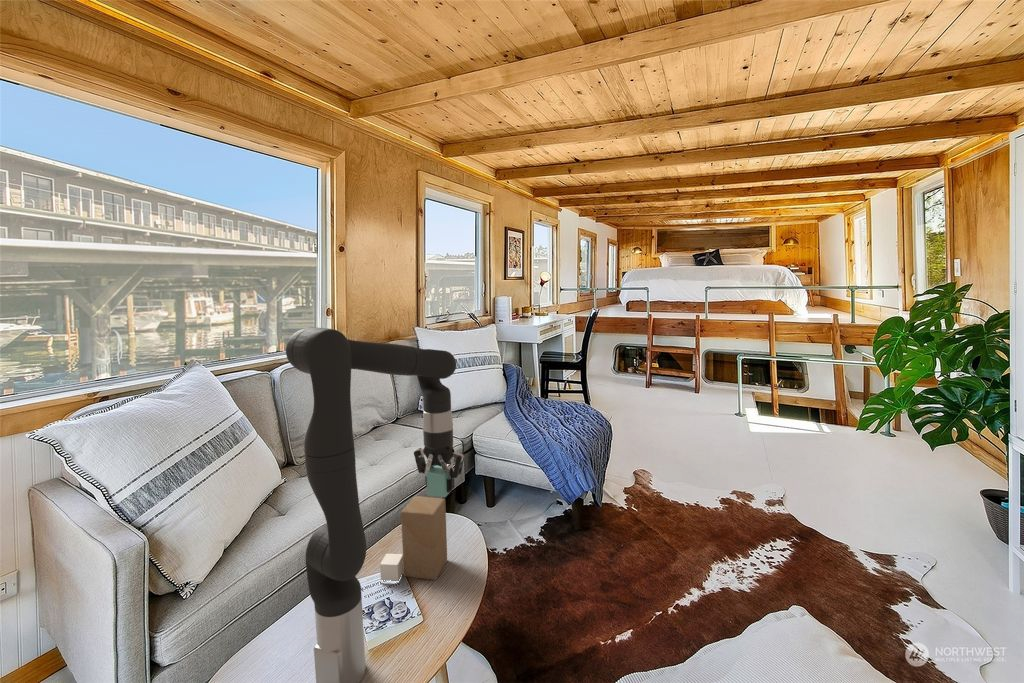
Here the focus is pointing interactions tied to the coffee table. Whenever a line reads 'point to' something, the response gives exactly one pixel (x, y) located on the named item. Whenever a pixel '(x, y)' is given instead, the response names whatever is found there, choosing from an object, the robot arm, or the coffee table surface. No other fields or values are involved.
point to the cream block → (392, 567)
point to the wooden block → (424, 537)
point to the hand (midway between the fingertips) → (440, 489)
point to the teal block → (437, 482)
